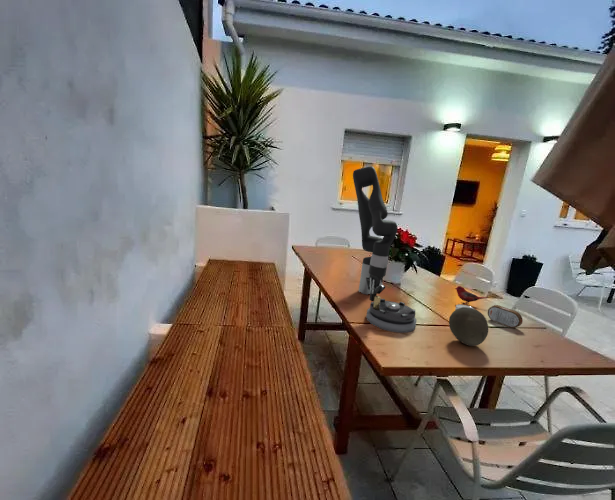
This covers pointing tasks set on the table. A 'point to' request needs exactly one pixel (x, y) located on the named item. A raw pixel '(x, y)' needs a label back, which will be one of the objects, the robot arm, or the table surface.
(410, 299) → the table surface
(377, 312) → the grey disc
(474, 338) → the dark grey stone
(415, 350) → the table surface
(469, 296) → the decorative bird figurine
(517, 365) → the table surface
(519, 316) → the tin
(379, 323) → the base plate
